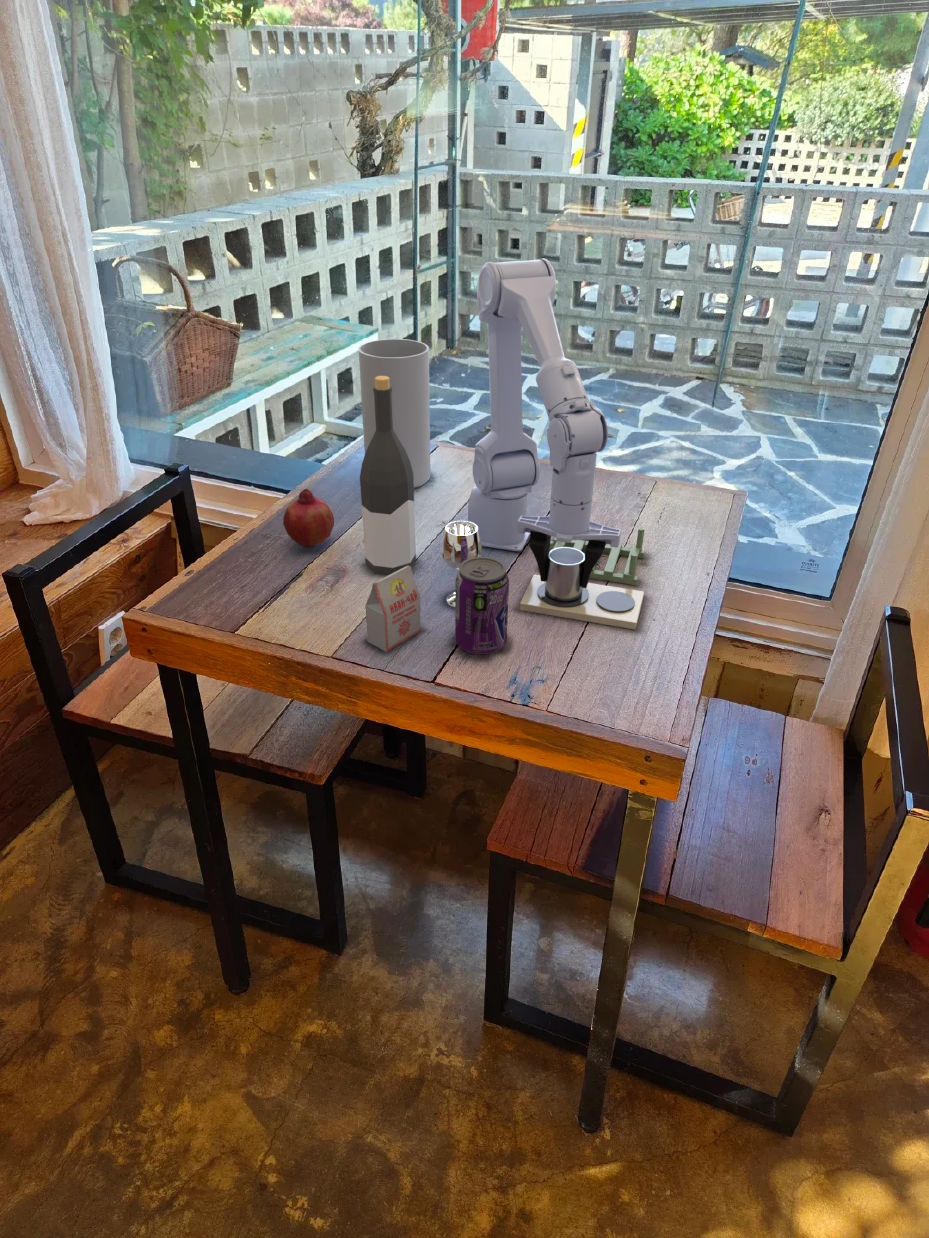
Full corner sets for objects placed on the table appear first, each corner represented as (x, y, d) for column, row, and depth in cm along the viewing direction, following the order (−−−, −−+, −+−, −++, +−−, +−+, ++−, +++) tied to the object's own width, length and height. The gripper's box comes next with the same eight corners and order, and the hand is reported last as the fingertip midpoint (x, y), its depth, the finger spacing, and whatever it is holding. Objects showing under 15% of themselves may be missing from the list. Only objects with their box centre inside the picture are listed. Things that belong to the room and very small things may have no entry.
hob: (519, 610, 121) (519, 601, 120) (533, 580, 128) (534, 572, 127) (635, 630, 117) (637, 621, 116) (643, 598, 124) (644, 589, 123)
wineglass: (452, 614, 120) (452, 540, 113) (435, 595, 124) (434, 524, 118) (487, 604, 122) (489, 532, 115) (469, 586, 126) (470, 516, 120)
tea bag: (367, 641, 114) (363, 579, 108) (402, 621, 118) (399, 560, 113) (386, 651, 112) (383, 588, 106) (420, 631, 116) (419, 569, 111)
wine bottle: (387, 547, 137) (378, 366, 120) (426, 561, 133) (422, 376, 116) (355, 566, 131) (341, 379, 115) (394, 581, 127) (385, 390, 111)
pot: (541, 597, 121) (543, 561, 117) (549, 579, 125) (552, 544, 122) (578, 603, 119) (582, 567, 116) (585, 585, 124) (588, 550, 120)
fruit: (343, 548, 136) (339, 493, 131) (297, 560, 133) (291, 504, 127) (324, 529, 142) (318, 475, 136) (279, 540, 138) (272, 485, 133)
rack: (541, 570, 131) (543, 542, 128) (554, 542, 139) (556, 515, 136) (636, 585, 127) (640, 557, 124) (644, 555, 135) (648, 528, 132)
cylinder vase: (441, 472, 163) (440, 343, 149) (412, 496, 153) (408, 361, 140) (385, 461, 167) (380, 336, 154) (354, 484, 158) (345, 352, 144)
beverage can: (489, 664, 110) (492, 587, 103) (445, 648, 113) (444, 572, 106) (515, 639, 115) (519, 564, 108) (472, 623, 118) (473, 550, 111)
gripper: (513, 501, 112) (509, 586, 120) (619, 516, 109) (609, 603, 116) (525, 481, 118) (521, 564, 125) (627, 494, 115) (616, 579, 122)
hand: (564, 581), depth 121 cm, fingers closed on pot, 5 cm apart
